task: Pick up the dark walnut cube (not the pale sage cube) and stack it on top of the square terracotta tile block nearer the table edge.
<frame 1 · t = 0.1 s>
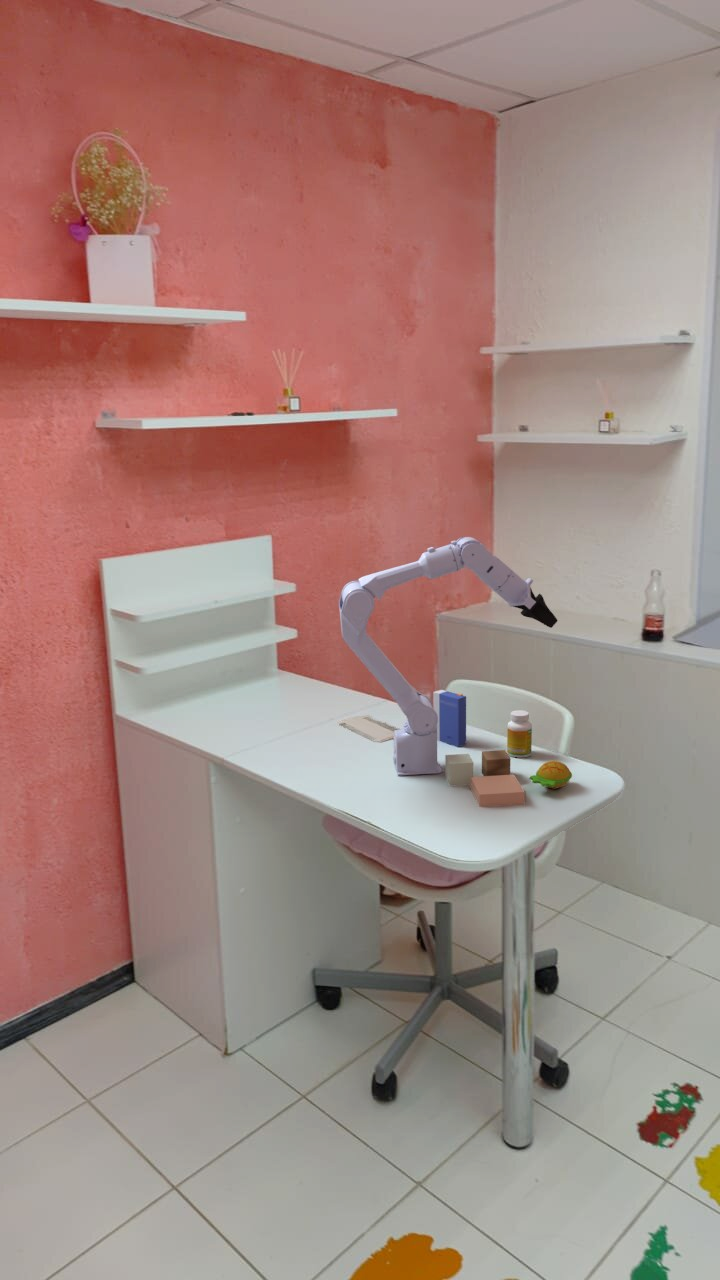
hand: (549, 619, 203), 32 cm above the table, tool tilted 50°, fingers open, 7 cm apart
supplement bottle: (519, 754, 216), on the table
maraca: (550, 789, 197), on the table
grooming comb: (372, 730, 235), on the table
walkman: (449, 742, 225), on the table
walnut cube: (495, 777, 204), on the table
tile block: (496, 798, 194), on the table
sage cube: (459, 781, 202), on the table
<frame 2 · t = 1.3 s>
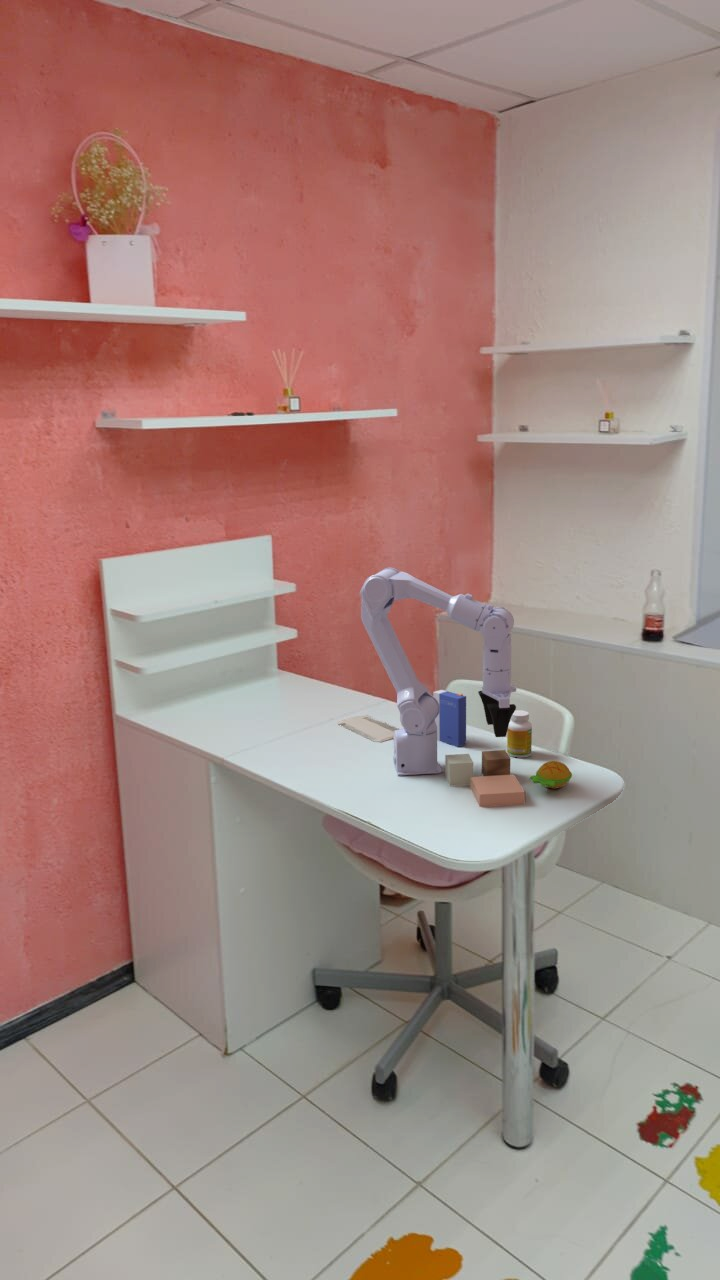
hand: (496, 730, 201), 10 cm above the table, tool pointing down, fingers open, 7 cm apart
nothing on the table moved.
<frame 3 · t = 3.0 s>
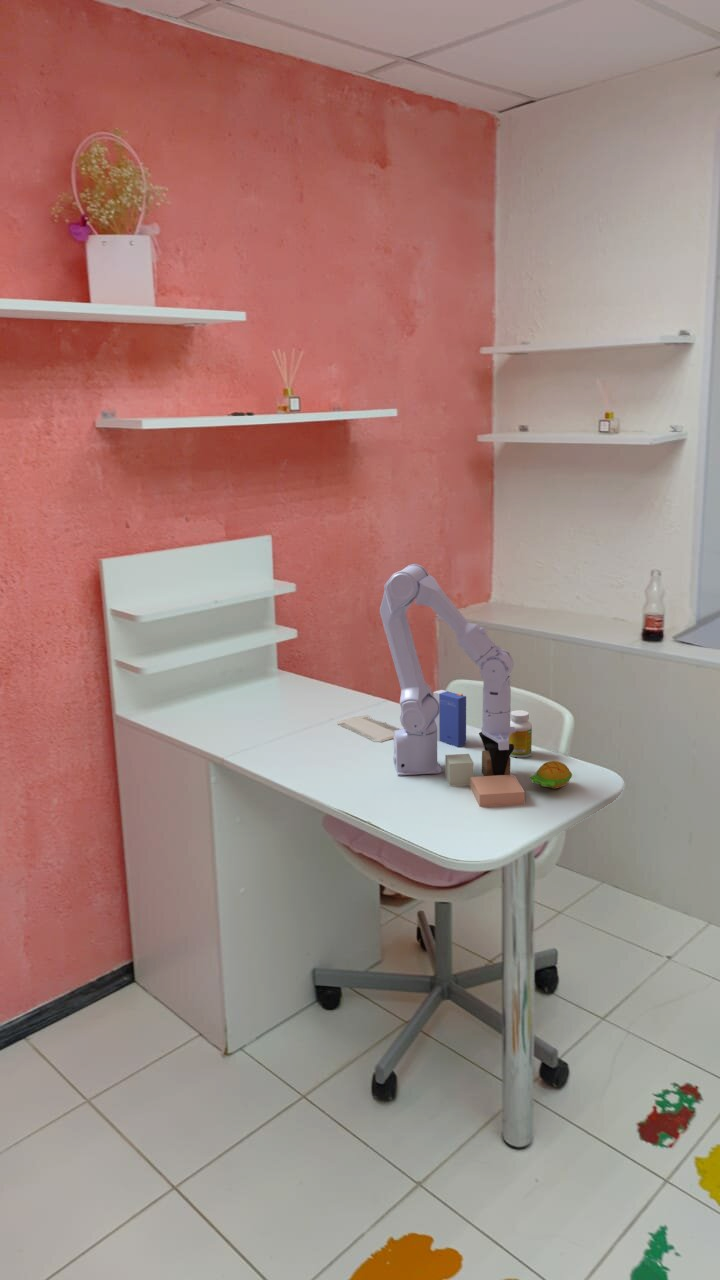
hand: (495, 770, 203), 1 cm above the table, tool pointing down, fingers closed on walnut cube, 5 cm apart
walnut cube: (495, 776, 204), on the table, touching gripper
everything else where it was.
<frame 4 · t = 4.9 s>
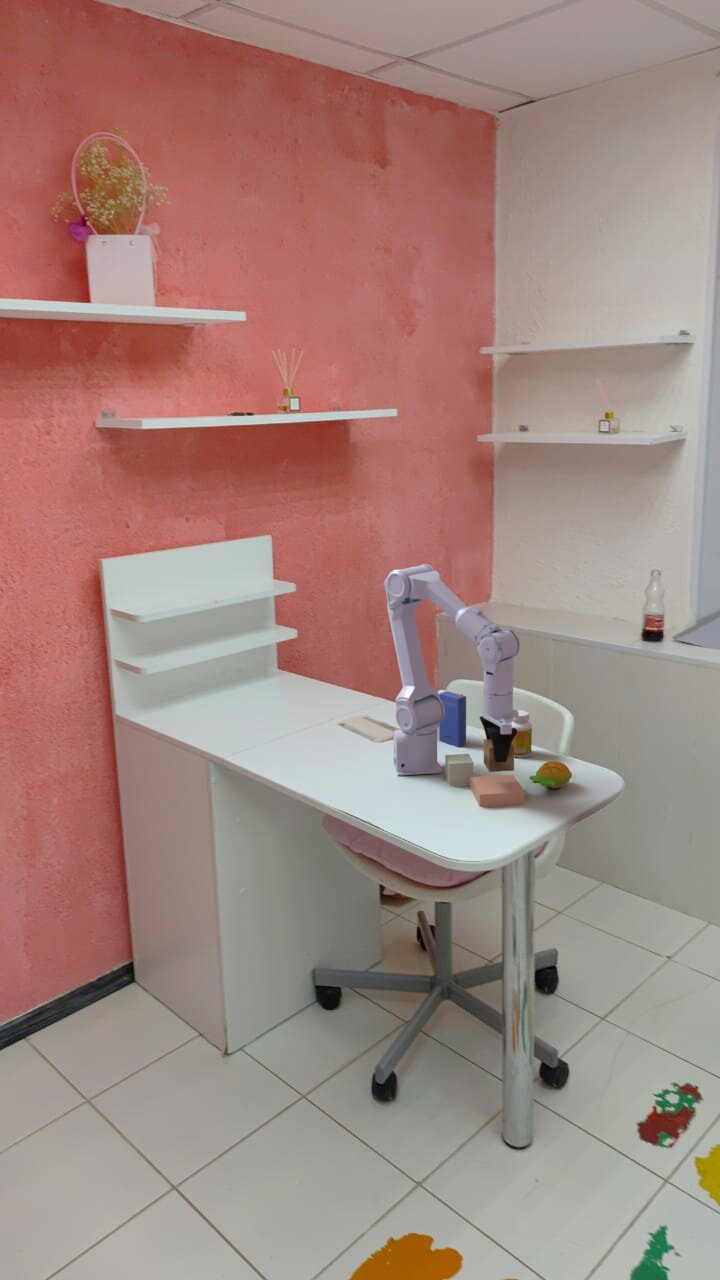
hand: (497, 756, 192), 8 cm above the table, tool pointing down, fingers closed on walnut cube, 5 cm apart
walnut cube: (498, 766, 193), point 6 cm above the table, touching gripper
everything else where it was.
when the fingers open (6 cm above the table, at t = 6.3 s): walnut cube drops 1 cm, resting on tile block.
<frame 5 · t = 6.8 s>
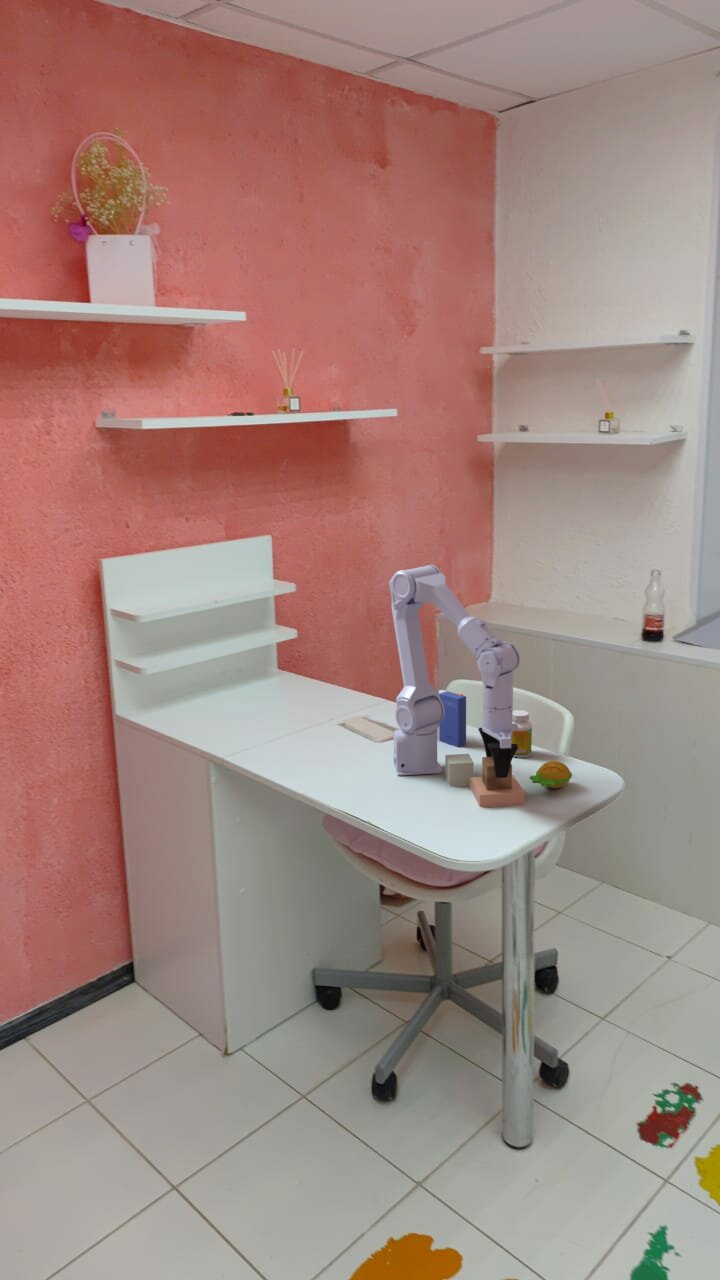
hand: (497, 769, 192), 6 cm above the table, tool pointing down, fingers open, 7 cm apart
walnut cube: (496, 784, 193), point 2 cm above the table, touching tile block
tile block: (496, 798, 194), on the table, touching walnut cube
everything else where it was.
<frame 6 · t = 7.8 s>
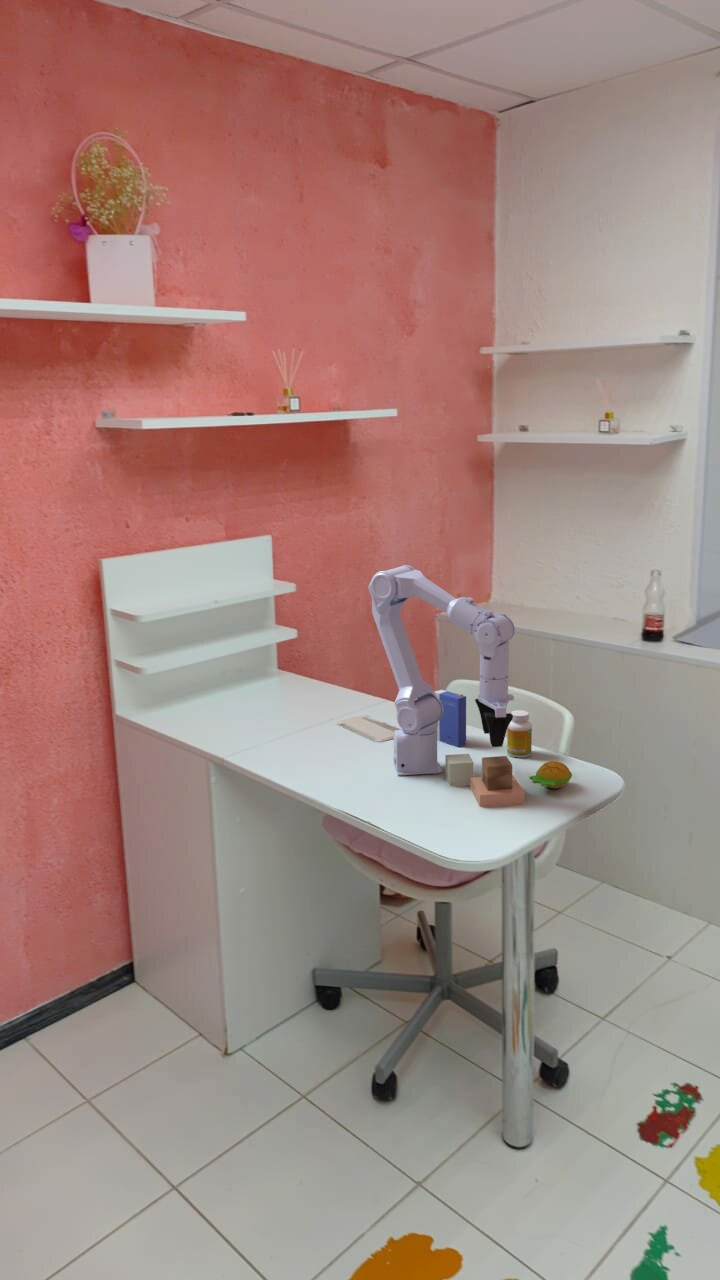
hand: (492, 739, 196), 10 cm above the table, tool pointing down, fingers open, 7 cm apart
nothing on the table moved.
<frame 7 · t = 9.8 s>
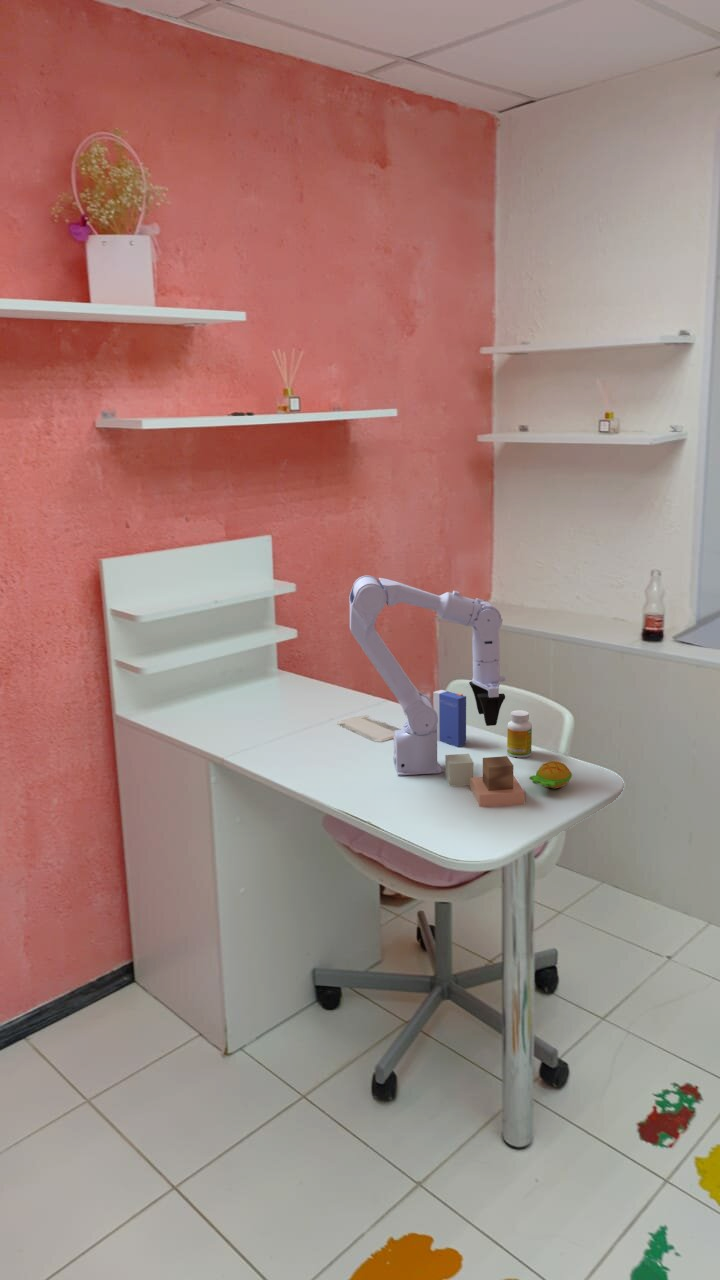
hand: (487, 719, 208), 10 cm above the table, tool pointing down, fingers open, 7 cm apart
nothing on the table moved.
at the end: walnut cube 0.2 cm off-centre on the tile block, point 3.0 cm above the tile block's base; walnut cube tilted 1°; the gripper is holding nothing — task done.
